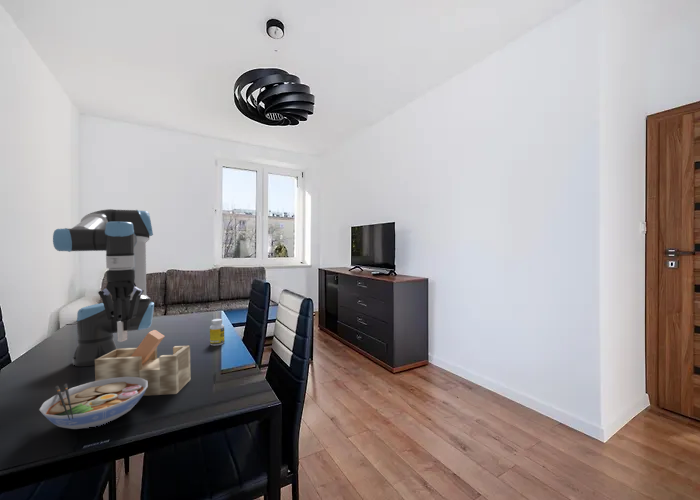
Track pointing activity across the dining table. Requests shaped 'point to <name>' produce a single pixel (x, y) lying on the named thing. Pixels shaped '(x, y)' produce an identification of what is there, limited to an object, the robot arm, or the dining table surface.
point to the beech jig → (148, 369)
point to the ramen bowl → (94, 402)
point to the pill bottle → (217, 332)
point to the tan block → (148, 345)
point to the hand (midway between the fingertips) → (122, 340)
